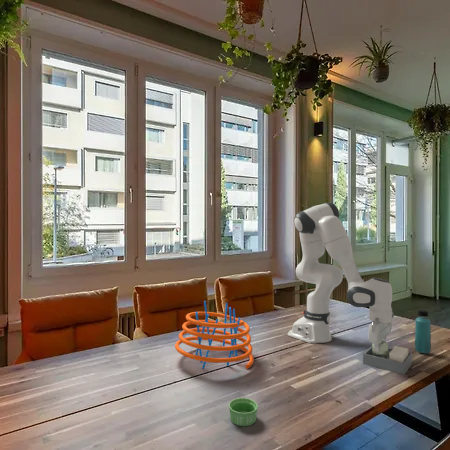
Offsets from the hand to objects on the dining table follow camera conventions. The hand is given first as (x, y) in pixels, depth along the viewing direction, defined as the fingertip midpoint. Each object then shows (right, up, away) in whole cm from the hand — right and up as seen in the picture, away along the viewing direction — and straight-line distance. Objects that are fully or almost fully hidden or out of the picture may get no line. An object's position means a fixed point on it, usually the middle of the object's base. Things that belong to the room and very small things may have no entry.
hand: (379, 348), depth 149 cm
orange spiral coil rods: (-71, -7, +4) cm, 71 cm away
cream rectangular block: (+6, -6, -4) cm, 10 cm away
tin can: (0, -6, 0) cm, 6 cm away
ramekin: (-61, -8, -41) cm, 74 cm away
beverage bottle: (+25, -7, +12) cm, 28 cm away
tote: (+3, -7, -1) cm, 7 cm away
